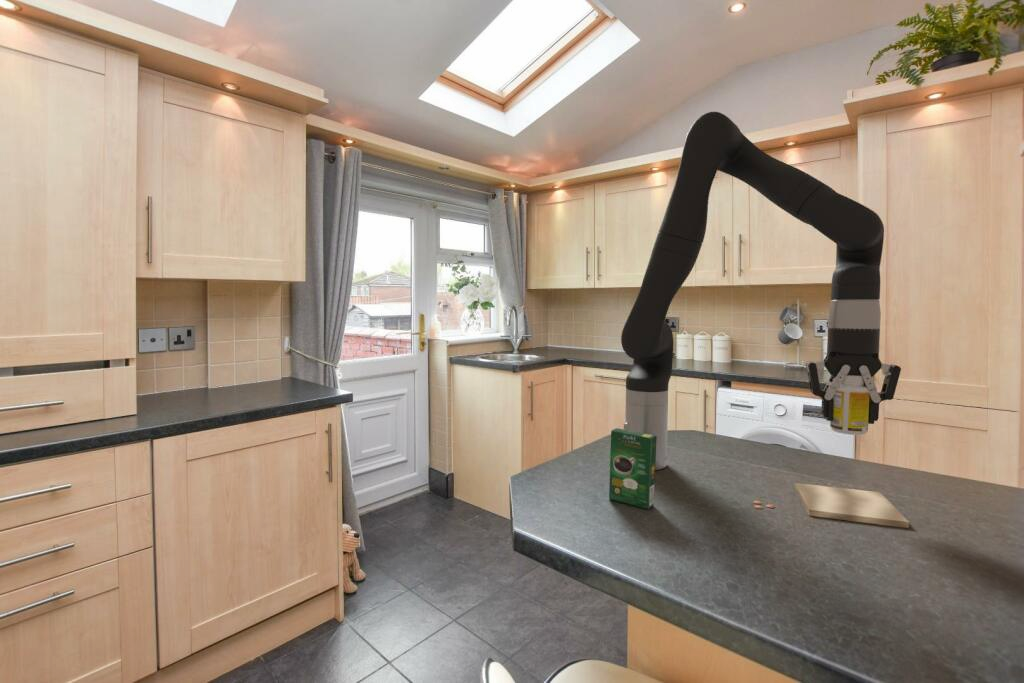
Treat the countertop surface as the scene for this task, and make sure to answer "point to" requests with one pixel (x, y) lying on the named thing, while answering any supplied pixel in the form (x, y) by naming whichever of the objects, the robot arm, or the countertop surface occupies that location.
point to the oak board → (849, 505)
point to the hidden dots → (761, 506)
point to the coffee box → (632, 468)
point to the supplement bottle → (851, 407)
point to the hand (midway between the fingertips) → (849, 421)
